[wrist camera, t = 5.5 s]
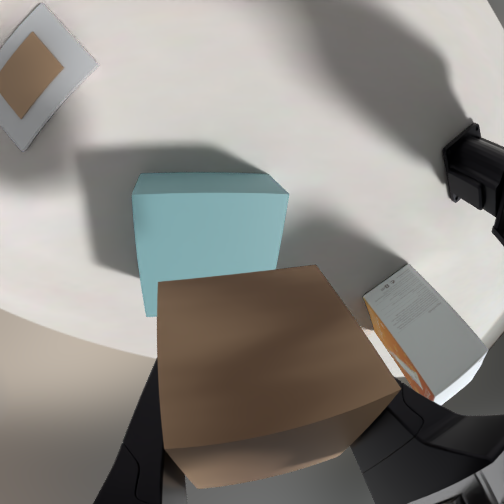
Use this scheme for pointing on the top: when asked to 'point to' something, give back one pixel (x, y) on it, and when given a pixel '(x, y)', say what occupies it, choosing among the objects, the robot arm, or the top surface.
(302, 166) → the top surface
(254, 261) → the teal base block
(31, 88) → the tile
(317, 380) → the walnut cube
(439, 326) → the small box
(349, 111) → the top surface
